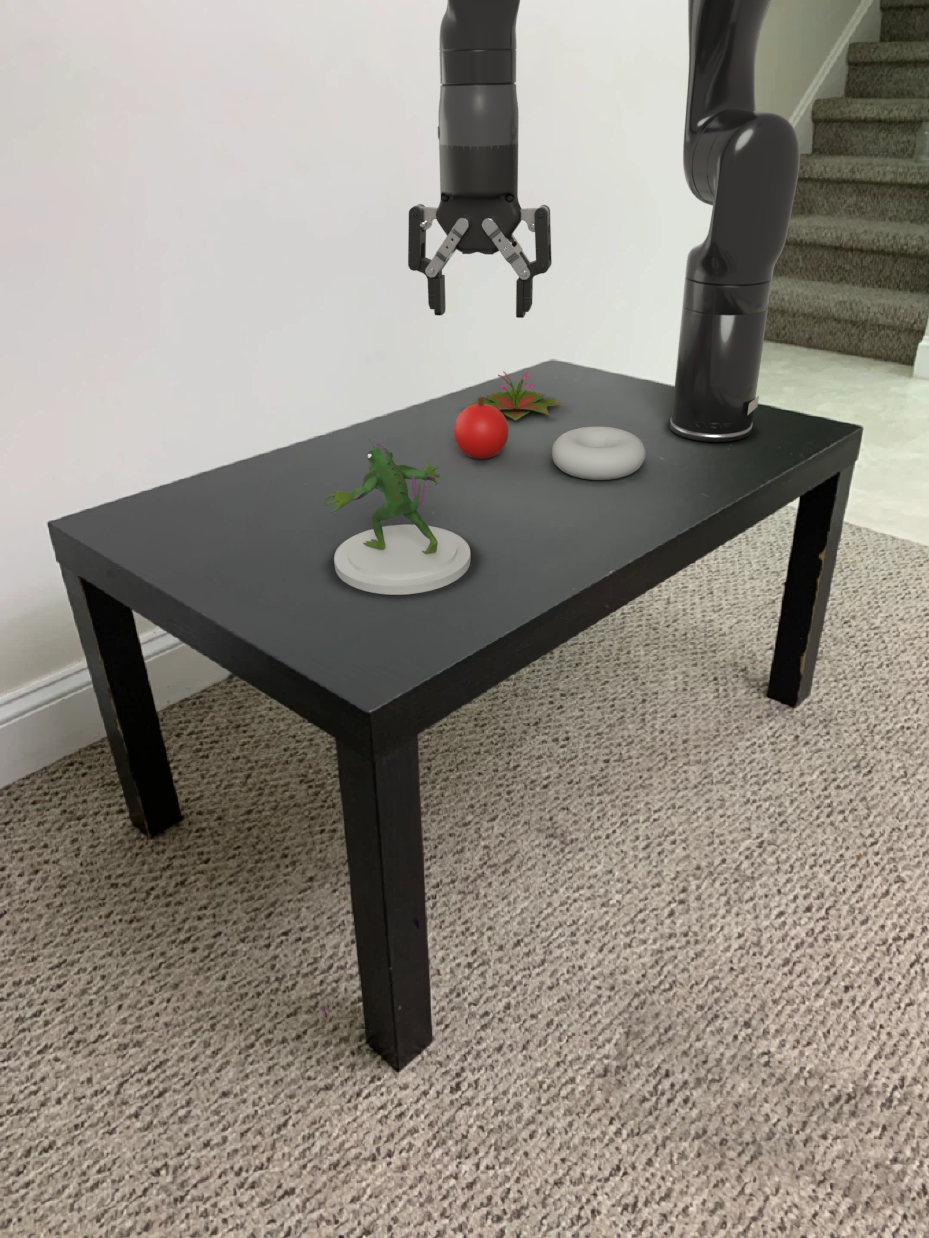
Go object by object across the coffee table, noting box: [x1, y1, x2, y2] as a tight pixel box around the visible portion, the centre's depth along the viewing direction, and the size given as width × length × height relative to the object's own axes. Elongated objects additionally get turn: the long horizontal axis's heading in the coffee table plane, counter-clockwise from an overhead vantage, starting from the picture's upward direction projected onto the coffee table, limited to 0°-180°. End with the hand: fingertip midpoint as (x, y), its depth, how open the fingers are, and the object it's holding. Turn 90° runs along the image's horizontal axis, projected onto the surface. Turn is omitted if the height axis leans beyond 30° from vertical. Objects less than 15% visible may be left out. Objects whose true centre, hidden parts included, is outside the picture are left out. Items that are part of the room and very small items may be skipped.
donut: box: [551, 426, 646, 481], centre depth 101 cm, size 10×4×10 cm
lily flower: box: [467, 370, 566, 421], centre depth 118 cm, size 12×12×5 cm
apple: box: [453, 395, 509, 460], centre depth 103 cm, size 6×6×7 cm
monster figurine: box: [323, 438, 472, 596], centre depth 81 cm, size 12×12×10 cm
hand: (479, 315), depth 97 cm, fingers open, 8 cm apart
